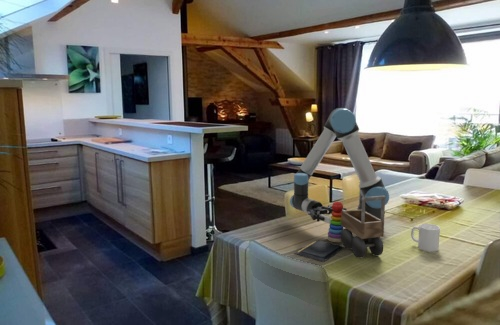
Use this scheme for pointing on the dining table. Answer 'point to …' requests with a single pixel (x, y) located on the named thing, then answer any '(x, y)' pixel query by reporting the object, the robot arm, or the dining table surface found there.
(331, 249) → the dark navy book
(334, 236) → the stacking toy
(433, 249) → the cup
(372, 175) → the robot arm
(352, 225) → the trolley
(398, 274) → the dining table surface
